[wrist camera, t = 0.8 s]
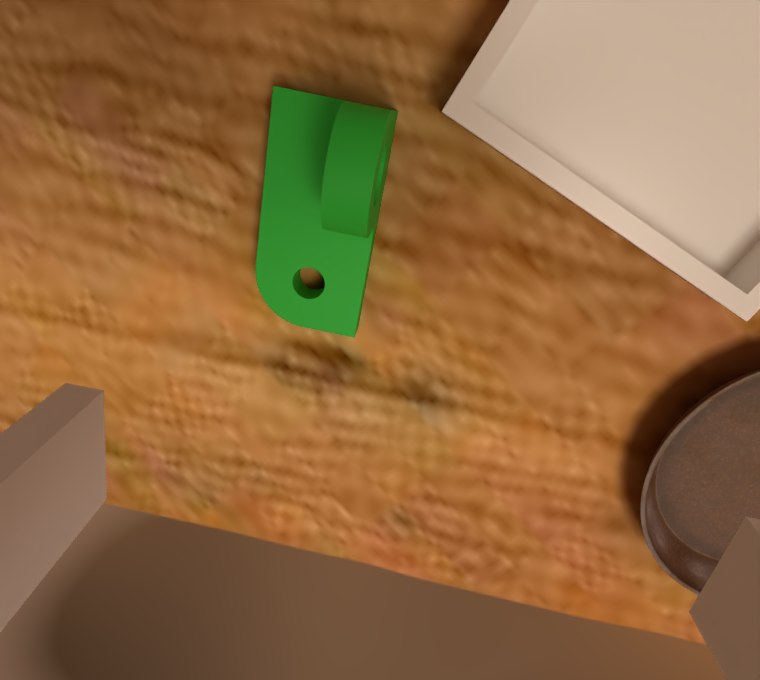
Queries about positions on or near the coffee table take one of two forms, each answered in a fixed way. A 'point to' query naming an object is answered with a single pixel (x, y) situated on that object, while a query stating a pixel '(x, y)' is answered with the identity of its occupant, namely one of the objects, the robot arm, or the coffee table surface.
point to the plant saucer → (704, 482)
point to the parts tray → (635, 124)
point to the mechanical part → (321, 206)
